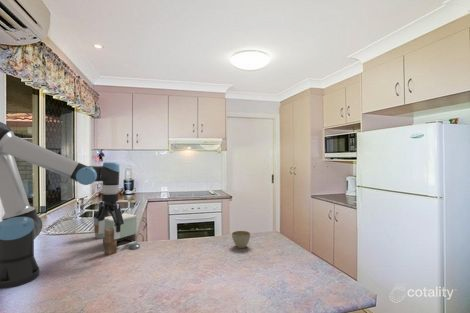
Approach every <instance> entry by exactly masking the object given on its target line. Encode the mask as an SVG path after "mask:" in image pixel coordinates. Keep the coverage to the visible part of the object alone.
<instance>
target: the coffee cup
mask: <svg viewBox="0 0 470 313" xmlns="http://www.w3.org/2000/svg"><path fill="white" fill-rule="evenodd" d="M97 213H98V211H96V212H93V227H94V229H93V230H94V237H95V239H97V240H103V233H102V234H98V231H99V221H98V219H96V216H97ZM105 217H110V213H109V212H108V213H107V215H106V216H105Z"/></svg>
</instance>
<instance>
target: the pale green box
mask: <svg viewBox="0 0 470 313" xmlns="http://www.w3.org/2000/svg"><path fill="white" fill-rule="evenodd" d="M137 217H138V216H137V215H136V214H131V213H128V212H127V213H125V212H124V213H122V218H123V222H124V224H121V226H120V238H118V239H117V242H119V241H124V240H127V241H129V242H130V241H131V242H134V241H137ZM114 225H115V222H114V220H113V217H112V215H109V217H105V229H109V228H114ZM105 229H104V230H105ZM102 246H104V233H103V239H102Z"/></svg>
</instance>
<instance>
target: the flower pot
mask: <svg viewBox="0 0 470 313" xmlns="http://www.w3.org/2000/svg"><path fill="white" fill-rule="evenodd" d="M231 237H232V241H233V243H234V245H235V246H236V247H237V248H238V249H244V248H246V247H247V246H248V245H249V242H250V238H251V232H250V231H246V230H235V231H233V232H232V233H231Z"/></svg>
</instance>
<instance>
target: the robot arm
mask: <svg viewBox="0 0 470 313" xmlns="http://www.w3.org/2000/svg"><path fill="white" fill-rule="evenodd" d="M16 159H19V160H22V161H24V162H27V163H29V164H32V165H35V166H38V167H40V168H41V169H45V170H47V171H50V172H53V173H56V174H58V175H60V176H62V177H63V176H64V177H66V178H68V179H69V180H70V179H71V180H73V181H74V182H77V183H79V184H80V185H84V186H88V185H91V184H93V183H95V182H102V185H101V186H102V187H101V193H102V194H101V201H100V203H99V208H98V210H97V212H98V213H97V216H96V219H98V221H99V231H98V234H102V233H104V229H105V216H106V215H107V213H109V215H110V216H112V217H113V220H114V222H115V225H114V239H118V238H120V226H121V224H124V222H123V218H122V214H123V213H122V211H121V204H120V203H119V204H117V202H118V201H119V198H120V197H119V192H120V191H119V190H120V189H119V188H120V186H119V185H120V184H119V183H120V163H118V162H113V161H112V162H111V161H110V162H108V161H106V162H105V161H104V162H103V163H102V165H100V166H99V165H97V166H96V165H86V164H83V163H81V162H78V161H76V160H73V159H71V158H69V157H66V156H64V155H61V154H59V153H57V152H55V151H52V150H50V149H47V148H45V147H43V146H41V145H37V144H36V143H33V142H31V141H29V140H27V139H24V138H21V137H19V136H17V135H15V133H14V130H13V129H12V128H11V127H10V126H8V125H7V124H6V123H3V122H1V121H0V202H1V205H2V208H3V212H4V214H3V216H1V221H0V290H1V289H9V288H14V287H18V286H21V285H24V284H27V283H29V282H32V281H34V280H35V279H37V278H38V277H39V276H40V267H39V265H38V262H37V260H36V257H35V242H34V241H35V239H36V238H37V237H38V236H39V235H40V233H42V229H43V220H42V219H41V217H40V216H39V215H38V213H37V210H36V207H34V206H31V205H30V202H29V199H28V196H27V193H26V190H25V187H24V183H23V181H22V177H21V175H20V172H19V169H18V165H17V161H16Z"/></svg>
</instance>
